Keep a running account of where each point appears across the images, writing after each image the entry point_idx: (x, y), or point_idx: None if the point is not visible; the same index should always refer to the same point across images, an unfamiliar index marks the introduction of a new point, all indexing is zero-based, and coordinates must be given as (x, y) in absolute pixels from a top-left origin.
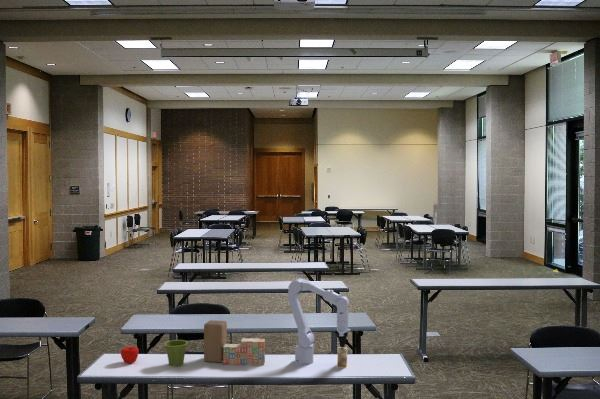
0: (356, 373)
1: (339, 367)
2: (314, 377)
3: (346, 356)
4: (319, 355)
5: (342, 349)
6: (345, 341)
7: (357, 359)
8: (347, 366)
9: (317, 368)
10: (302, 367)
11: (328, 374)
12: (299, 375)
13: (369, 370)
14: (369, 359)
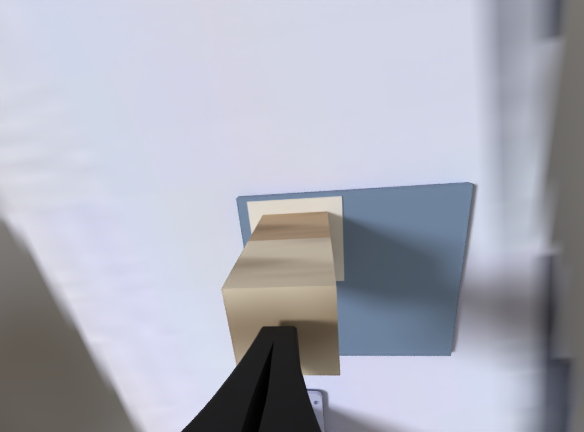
0: (433, 116)
1: (343, 255)
2: (537, 362)
3: (331, 245)
4: (125, 378)
5: (337, 328)
6: (257, 380)
7: (92, 160)
8: (310, 205)
9: (361, 364)
10: (358, 426)
11: (473, 299)
12: (500, 426)
13: (335, 11)
14: (45, 63)
